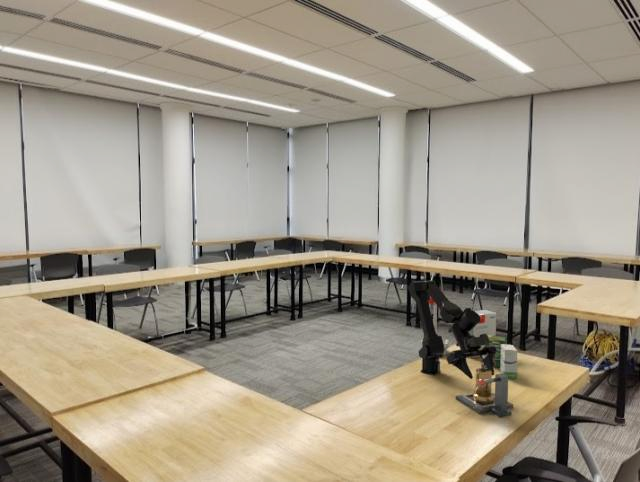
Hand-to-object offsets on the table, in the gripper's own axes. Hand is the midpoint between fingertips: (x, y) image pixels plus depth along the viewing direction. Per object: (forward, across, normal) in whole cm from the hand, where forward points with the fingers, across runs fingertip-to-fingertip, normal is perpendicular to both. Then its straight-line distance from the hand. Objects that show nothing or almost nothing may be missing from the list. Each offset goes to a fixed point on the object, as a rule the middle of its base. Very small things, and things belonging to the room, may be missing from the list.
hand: (482, 376), depth 157 cm
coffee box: (-12, +30, +26) cm, 42 cm away
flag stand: (-31, +17, +45) cm, 57 cm away
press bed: (+9, -1, +5) cm, 10 cm away
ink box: (-5, +28, +19) cm, 34 cm away
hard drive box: (-24, +34, +38) cm, 56 cm away
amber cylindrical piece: (+6, 0, +5) cm, 8 cm away
